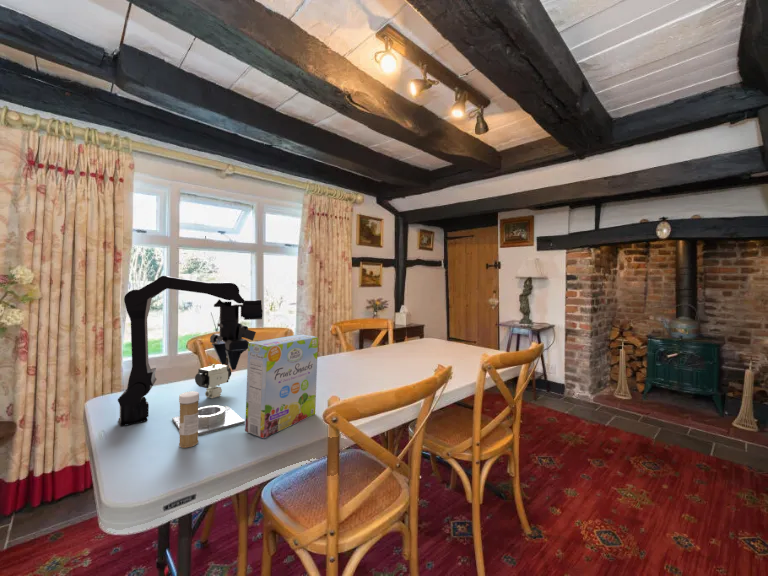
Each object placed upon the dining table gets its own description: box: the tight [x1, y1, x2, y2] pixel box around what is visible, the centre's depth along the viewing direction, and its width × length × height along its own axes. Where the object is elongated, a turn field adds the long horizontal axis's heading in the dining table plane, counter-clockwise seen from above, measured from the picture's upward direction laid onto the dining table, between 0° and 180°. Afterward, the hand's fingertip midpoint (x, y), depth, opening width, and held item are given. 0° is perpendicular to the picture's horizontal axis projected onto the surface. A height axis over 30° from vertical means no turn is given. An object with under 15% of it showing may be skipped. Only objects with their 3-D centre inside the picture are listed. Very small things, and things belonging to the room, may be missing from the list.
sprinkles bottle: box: [178, 390, 200, 449], centre depth 91 cm, size 5×5×14 cm
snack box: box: [244, 333, 319, 439], centre depth 105 cm, size 22×9×26 cm, turn 151°
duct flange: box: [172, 405, 245, 437], centre depth 105 cm, size 16×16×3 cm
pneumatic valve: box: [194, 363, 232, 399], centre depth 127 cm, size 6×12×12 cm, turn 152°
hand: (228, 366), depth 116 cm, fingers open, 9 cm apart
